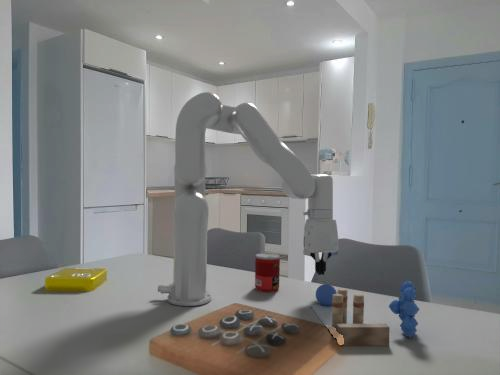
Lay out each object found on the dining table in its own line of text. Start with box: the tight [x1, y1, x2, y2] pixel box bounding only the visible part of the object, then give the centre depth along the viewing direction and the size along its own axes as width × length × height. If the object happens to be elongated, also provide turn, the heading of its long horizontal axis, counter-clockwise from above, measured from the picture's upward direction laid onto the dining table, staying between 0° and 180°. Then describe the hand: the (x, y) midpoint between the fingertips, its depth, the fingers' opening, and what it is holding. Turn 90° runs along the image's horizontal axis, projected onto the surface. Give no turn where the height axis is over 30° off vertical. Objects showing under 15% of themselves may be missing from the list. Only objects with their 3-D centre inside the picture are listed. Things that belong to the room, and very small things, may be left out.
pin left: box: [332, 294, 343, 328], centre depth 89 cm, size 2×2×8 cm
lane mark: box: [309, 303, 353, 327], centre depth 97 cm, size 9×24×1 cm, turn 4°
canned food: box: [254, 252, 281, 293], centre depth 125 cm, size 8×8×11 cm
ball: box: [315, 283, 337, 306], centre depth 109 cm, size 6×6×6 cm
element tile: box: [44, 267, 108, 293], centre depth 124 cm, size 15×15×5 cm
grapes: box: [388, 280, 420, 338], centre depth 89 cm, size 12×7×12 cm, turn 163°
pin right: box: [352, 293, 365, 324], centre depth 90 cm, size 2×2×8 cm
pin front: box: [336, 288, 349, 324], centre depth 94 cm, size 2×2×8 cm
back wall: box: [336, 323, 390, 347], centre depth 83 cm, size 11×2×4 cm, turn 94°
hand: (320, 273), depth 118 cm, fingers closed
